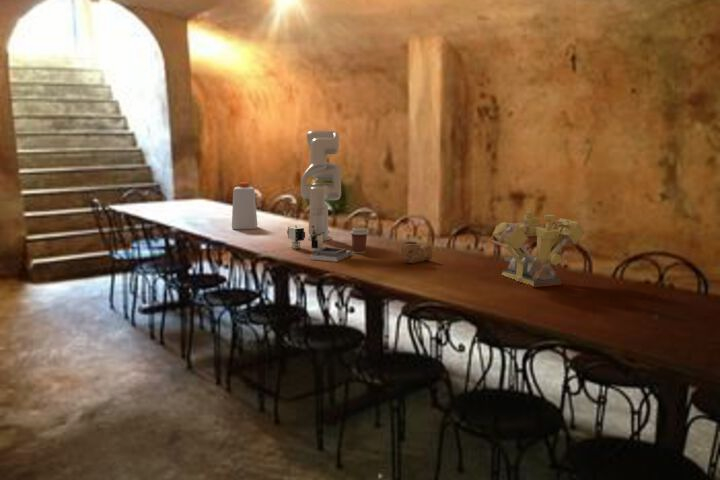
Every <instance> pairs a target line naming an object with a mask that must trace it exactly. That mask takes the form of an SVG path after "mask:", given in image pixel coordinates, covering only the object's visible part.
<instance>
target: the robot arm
mask: <svg viewBox="0 0 720 480" xmlns="http://www.w3.org/2000/svg"><path fill="white" fill-rule="evenodd" d="M306 142H307V145H308V147H309V151H310V152H309V153H310V154H309V155H310V156H309V157H310V158H309V163H310V164H309V167H307V169H306V170H305V171H304V172H303V174H302V176H301V179H300V196H301V197H302V198H303V199H305V200H309V219H308V234H309V236H308V237H307V238H308V239H307V240H309V241H311V249H312V248H318V240H317V236H318V234H320V233H321V234H323V242H325V241H330V240H331V238H332V237H331V236H329V234H330V230H329V207H328V206H327V205H328V204H326V203H325V202H326V201H338V200H340V199H341V196H342V170H341V169H342V168H341V165H340V164H338V163H335V162H328V155H337V153H338V152H339V147H340V134H339V133H338V131H336V130H310V131H308V132H307V133H306ZM311 176H312V178H313V179H314V180H316V181H331V182H313V183H307V182H308V179H309V178H310V177H311ZM314 233H315V234H314ZM314 235H316V236H314Z"/></svg>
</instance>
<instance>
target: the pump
mask: <svg viewBox="0 0 720 480" xmlns="http://www.w3.org/2000/svg"><path fill="white" fill-rule="evenodd" d="M314 234H315V233H314ZM314 236H316V235H314ZM317 240H318V248H312V247H311V249H312V250H315V251H317V250H320V249H322V248H324V241H323V234H321V233H320V234H318V236H317Z"/></svg>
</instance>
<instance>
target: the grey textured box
mask: <svg viewBox="0 0 720 480" xmlns="http://www.w3.org/2000/svg"><path fill="white" fill-rule="evenodd" d="M400 250H401V257H402V260H403V262H405V263H407V264H409V263H412V264H415V263H416V262H418V261H423V260H428V261H430V260H432V259H433V257H434V256H433V255H434V254H433V249H432V246H431V245H430V244H429V243H428V242H423V243H421V242H416V241H415V240H414V241H411V240H407V241H403V243H402V246H401V249H400Z"/></svg>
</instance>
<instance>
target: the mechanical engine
mask: <svg viewBox="0 0 720 480" xmlns="http://www.w3.org/2000/svg"><path fill="white" fill-rule="evenodd" d="M556 218H557V216H556V215H554V214H545V215H544V217H535V211H532V210H531V207H530V208H528V211H524V217H521V219H520V221H519V222H513V223H512V222H506V221H505V222H500V223H499V224H497V225H495V229H494V231H493V232H492V234H491V236H490V237H489V238H488V242H489V243H491V244H494V245H497V246H500V247H504V248H505V249H506V250H507V252H508V253H509V254H510V255H511V256H512V257H508V256H504V258H503V260H504V261H505V262H510V263H509V265H508V267H507V269H503V270H502V272H501V275H504V276H506V277H509V278H512V279H515V280H516V281H520V282H523V283H526V284H530V285H532V286H536V285H547V284H557V283H561V284H562V280H561V278H560V277H558V276H557V273H556V271H554V268H553V267H552V266H551V264H553V265H555V266H557V265H558V264H560V263H561V262H562V255H561V254H559V252H560V251H561V250H562V249H563V248H564V246H565V245H566V244H571V245H576V244H577V243H579V244H581V243H583V240H582V239H581V238H582V237H583V235H584V234H585V233H586V230H585V229H584V227H583V226H582V224H581V223H580V222H578V221H575V220H571V219H569V218H563V217H562V218H561V217H560V218H559V219H558V220H556ZM552 220H553V221H552ZM538 221H546V222H545V224H543V223H539V222H538ZM494 237H495V239H496V240H493V239H494ZM529 237H536V255H532V254H531V253H530V252H529V251H528V250H527V247H526V245H525V244H524V243H525V242H527V240H528V238H529ZM529 277H531V278H529Z"/></svg>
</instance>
